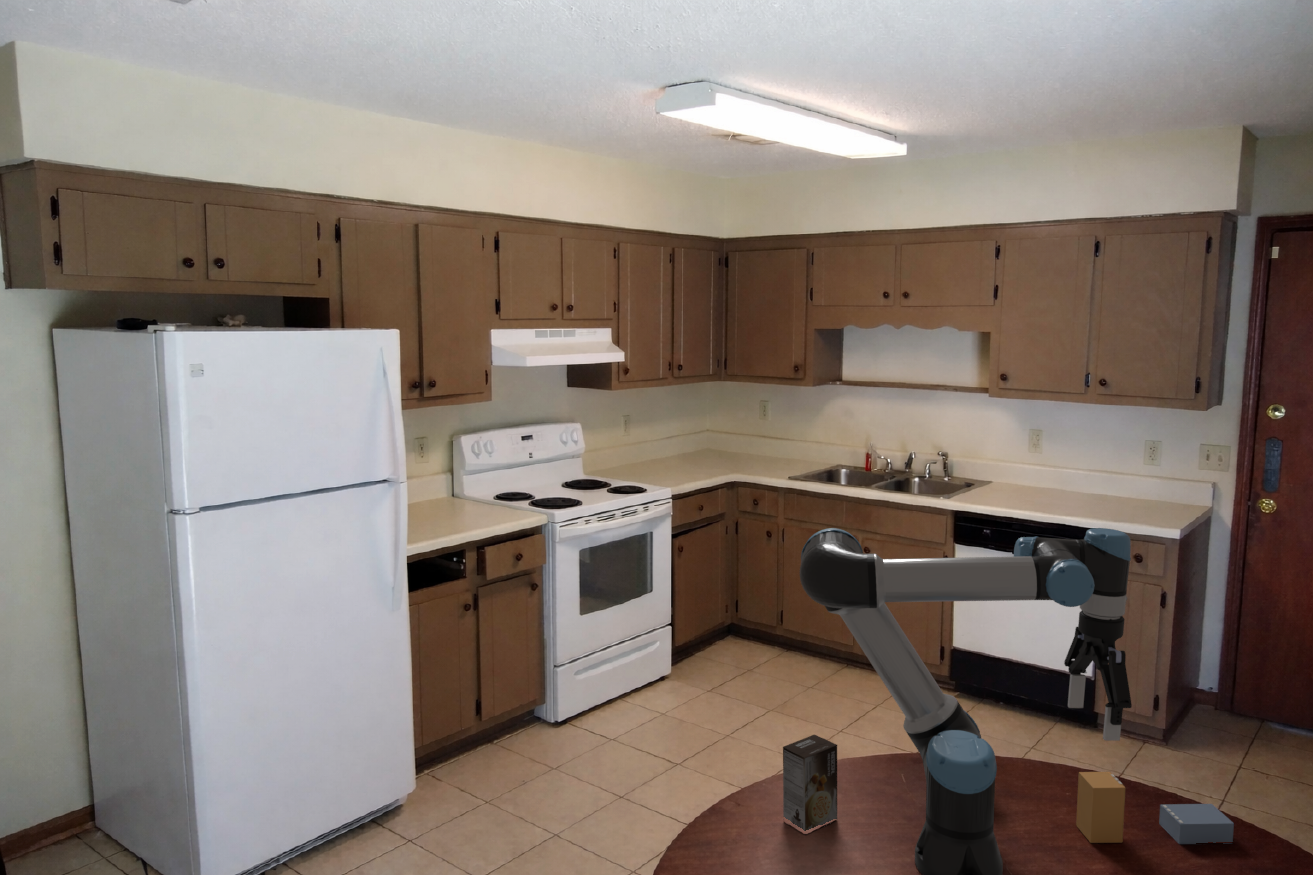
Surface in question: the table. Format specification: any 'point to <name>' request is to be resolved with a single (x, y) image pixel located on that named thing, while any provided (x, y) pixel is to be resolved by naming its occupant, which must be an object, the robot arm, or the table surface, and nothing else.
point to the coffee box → (810, 782)
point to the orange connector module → (1100, 807)
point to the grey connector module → (1196, 823)
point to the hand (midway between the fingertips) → (1092, 722)
